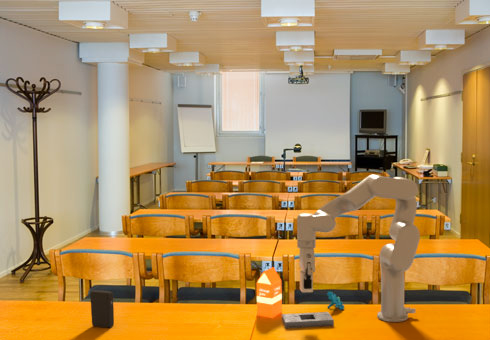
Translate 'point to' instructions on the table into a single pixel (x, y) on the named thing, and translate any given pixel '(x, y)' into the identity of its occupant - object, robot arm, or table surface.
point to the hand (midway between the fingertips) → (306, 286)
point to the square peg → (303, 282)
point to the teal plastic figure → (335, 301)
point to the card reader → (102, 308)
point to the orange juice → (269, 294)
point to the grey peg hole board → (307, 320)
